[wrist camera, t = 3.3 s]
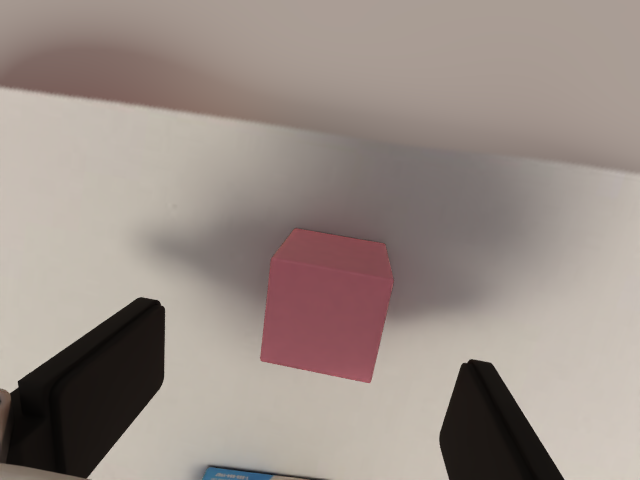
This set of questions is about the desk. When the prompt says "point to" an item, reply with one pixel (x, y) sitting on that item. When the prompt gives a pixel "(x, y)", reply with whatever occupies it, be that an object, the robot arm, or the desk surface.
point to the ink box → (240, 475)
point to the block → (327, 304)
